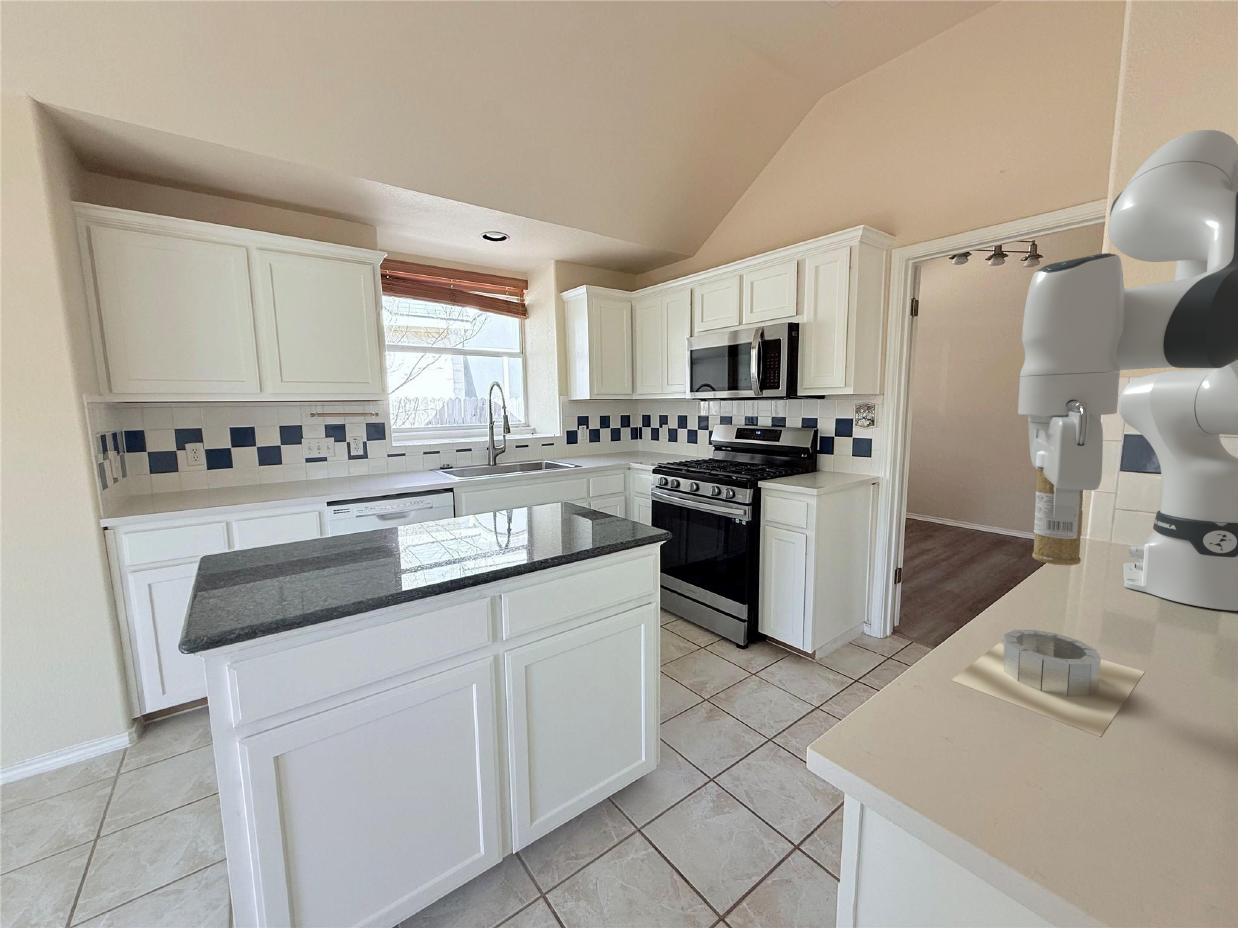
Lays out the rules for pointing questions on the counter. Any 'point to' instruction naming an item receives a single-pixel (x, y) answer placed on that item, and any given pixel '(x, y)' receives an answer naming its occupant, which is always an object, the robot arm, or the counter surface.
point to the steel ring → (1051, 662)
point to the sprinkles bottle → (1054, 525)
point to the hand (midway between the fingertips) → (1058, 514)
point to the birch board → (1070, 710)
